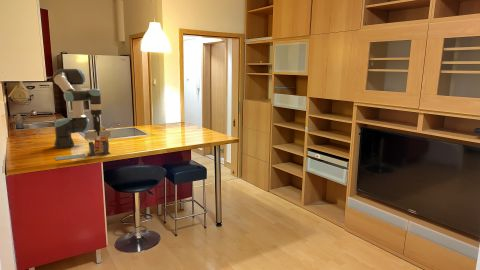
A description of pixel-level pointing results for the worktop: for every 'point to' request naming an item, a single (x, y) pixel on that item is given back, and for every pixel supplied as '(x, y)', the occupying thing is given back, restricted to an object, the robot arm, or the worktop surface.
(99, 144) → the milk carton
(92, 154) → the standards
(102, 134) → the rail
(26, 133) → the worktop surface
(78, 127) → the robot arm
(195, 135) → the worktop surface
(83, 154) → the mat
